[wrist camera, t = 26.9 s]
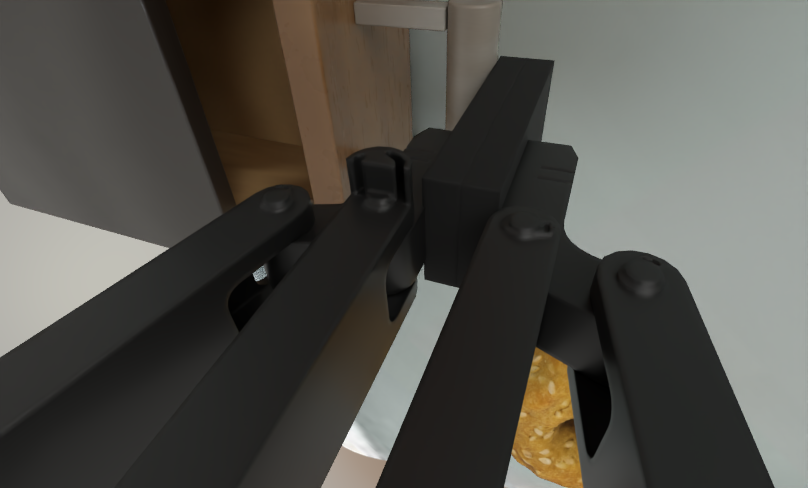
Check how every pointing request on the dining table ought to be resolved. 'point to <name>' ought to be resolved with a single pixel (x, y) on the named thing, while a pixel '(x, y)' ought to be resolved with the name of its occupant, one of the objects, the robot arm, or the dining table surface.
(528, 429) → the bagel
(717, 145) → the dining table surface
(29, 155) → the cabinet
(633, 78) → the dining table surface
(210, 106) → the drawer
